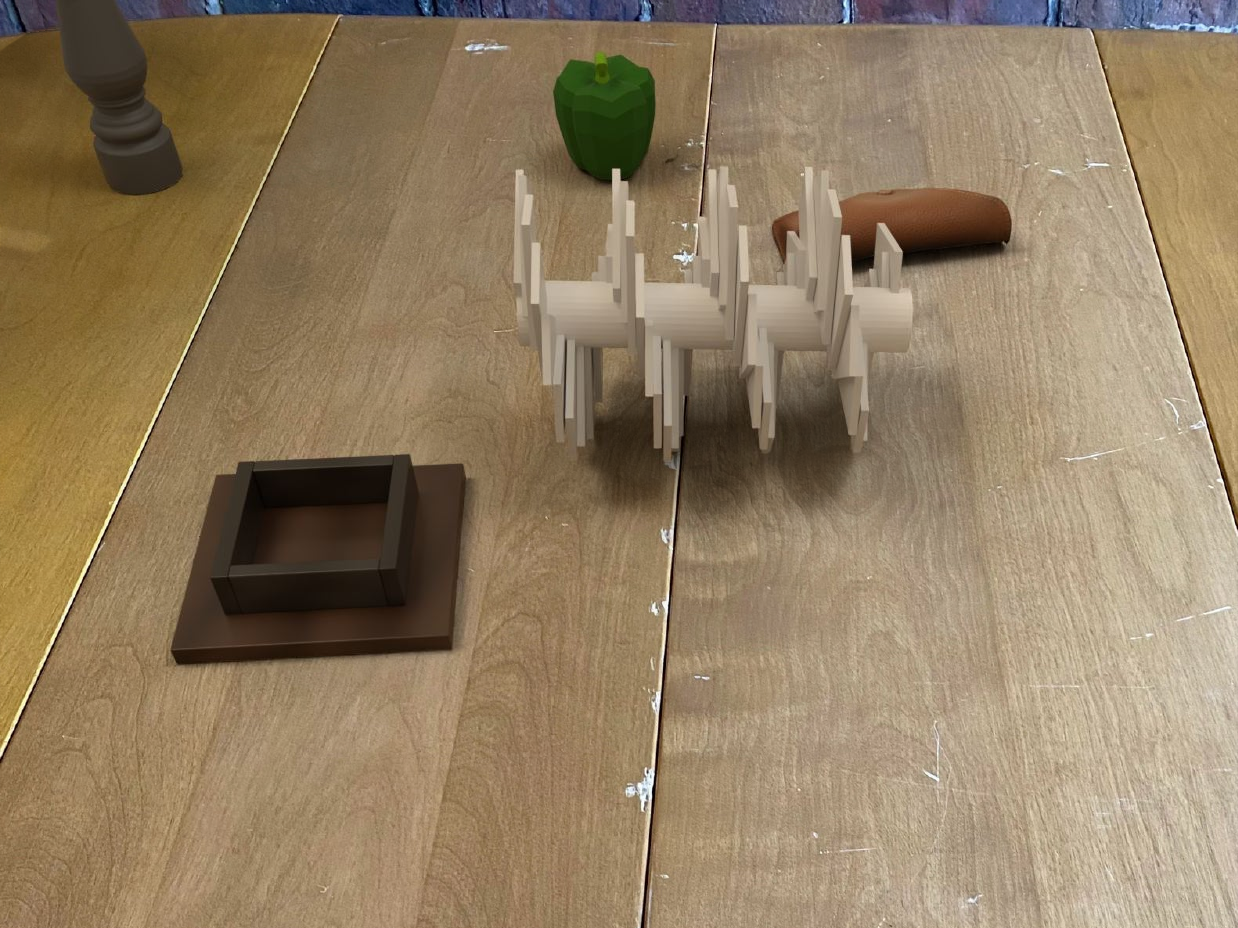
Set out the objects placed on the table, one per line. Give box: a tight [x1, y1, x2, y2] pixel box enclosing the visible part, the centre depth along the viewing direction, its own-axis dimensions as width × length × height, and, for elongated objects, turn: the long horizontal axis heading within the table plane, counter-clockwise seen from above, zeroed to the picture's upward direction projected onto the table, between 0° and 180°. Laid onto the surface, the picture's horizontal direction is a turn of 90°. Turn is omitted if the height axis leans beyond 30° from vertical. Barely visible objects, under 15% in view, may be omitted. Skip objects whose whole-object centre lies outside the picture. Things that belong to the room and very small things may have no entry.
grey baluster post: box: [55, 0, 184, 196], centre depth 108 cm, size 6×6×25 cm
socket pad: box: [169, 453, 467, 665], centre depth 86 cm, size 16×16×4 cm
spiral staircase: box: [513, 165, 914, 463], centre depth 89 cm, size 18×18×25 cm
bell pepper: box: [552, 51, 657, 181], centre depth 115 cm, size 8×8×10 cm
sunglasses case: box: [771, 187, 1013, 266], centre depth 111 cm, size 18×7×7 cm
